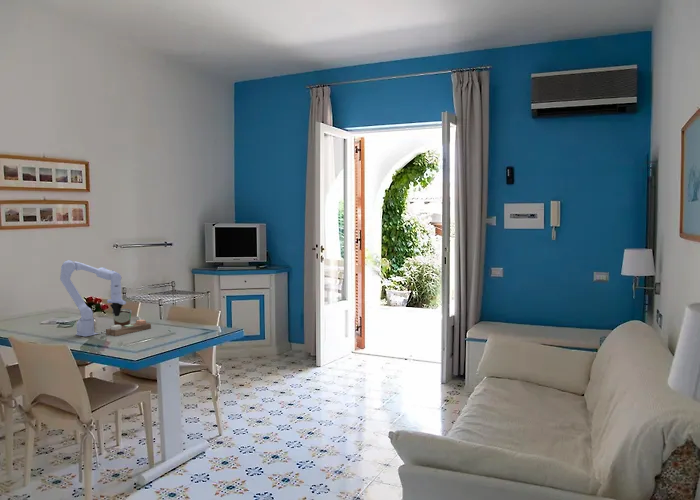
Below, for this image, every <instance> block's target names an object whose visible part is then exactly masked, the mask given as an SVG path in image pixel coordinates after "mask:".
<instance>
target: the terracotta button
mask: <svg viewBox="0 0 700 500" xmlns="http://www.w3.org/2000/svg"><path fill="white" fill-rule="evenodd" d="M135 323H136V324H138V325H142V324H146V323H147V320H146V319H138V320H135Z"/></svg>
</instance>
